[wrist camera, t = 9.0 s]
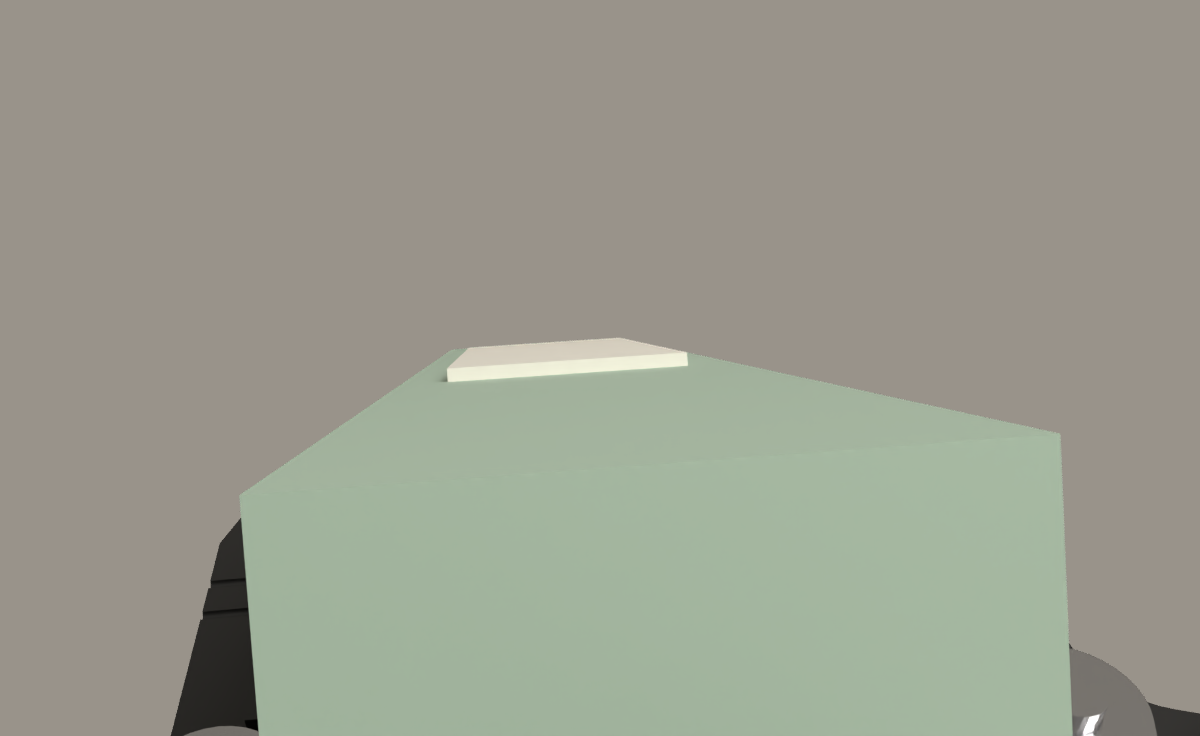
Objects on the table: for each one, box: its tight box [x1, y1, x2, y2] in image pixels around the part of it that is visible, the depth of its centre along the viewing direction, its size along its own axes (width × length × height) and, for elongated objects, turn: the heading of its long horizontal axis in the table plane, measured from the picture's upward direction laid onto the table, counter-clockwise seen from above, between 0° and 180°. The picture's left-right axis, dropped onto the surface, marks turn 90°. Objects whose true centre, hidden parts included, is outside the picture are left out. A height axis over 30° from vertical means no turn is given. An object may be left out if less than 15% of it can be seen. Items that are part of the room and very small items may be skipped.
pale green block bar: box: [239, 338, 1073, 736], centre depth 20 cm, size 26×5×5 cm, turn 5°
